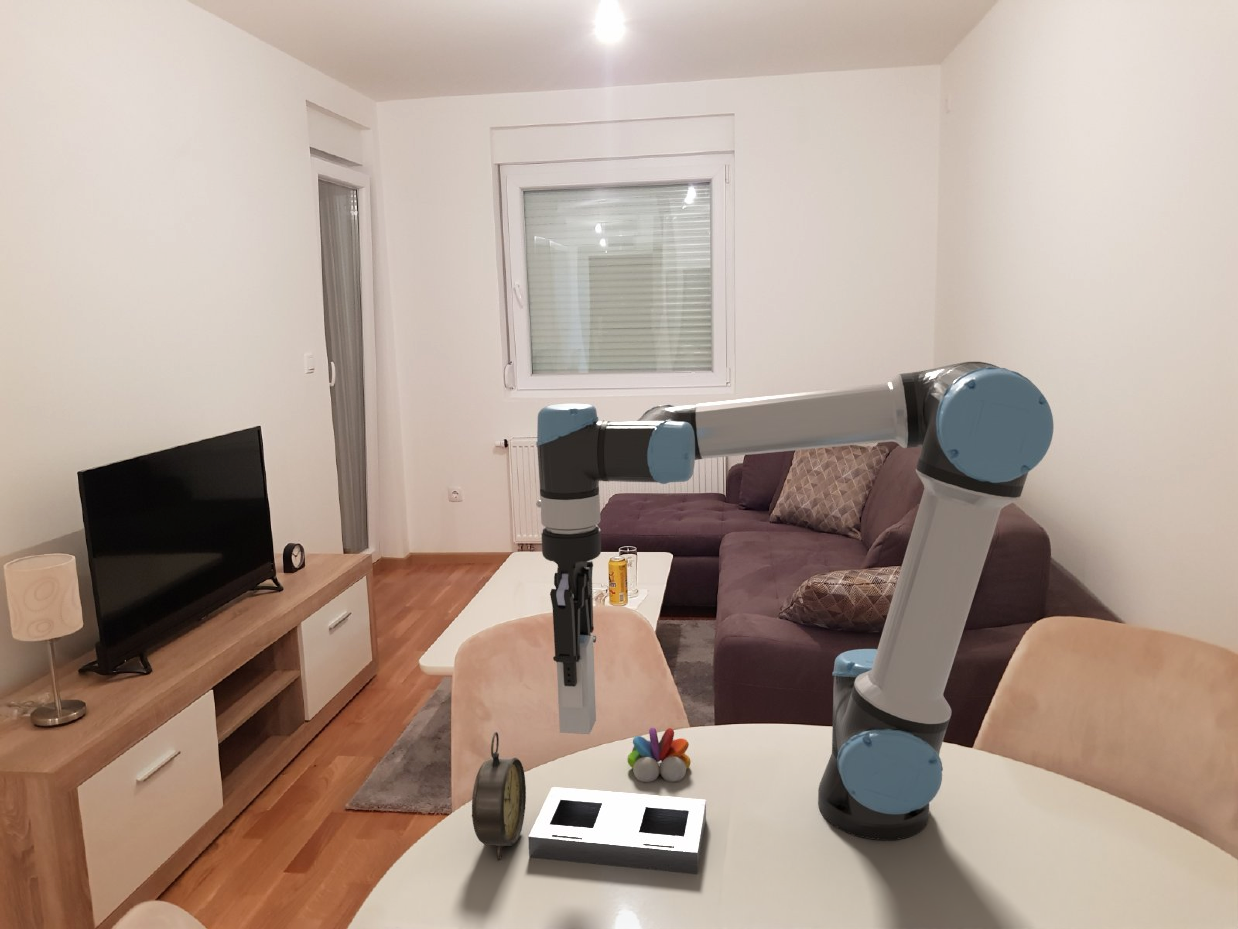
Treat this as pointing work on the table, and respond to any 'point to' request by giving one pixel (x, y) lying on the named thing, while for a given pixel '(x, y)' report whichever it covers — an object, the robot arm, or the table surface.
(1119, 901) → the table surface
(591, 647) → the plug
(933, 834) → the table surface
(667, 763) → the rainbow petal toy
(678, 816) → the panel
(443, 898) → the table surface
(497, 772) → the alarm clock
